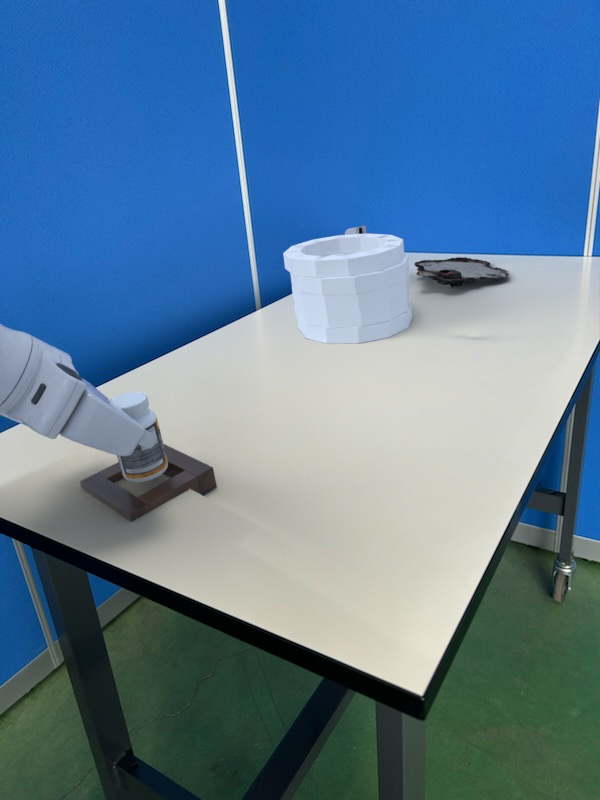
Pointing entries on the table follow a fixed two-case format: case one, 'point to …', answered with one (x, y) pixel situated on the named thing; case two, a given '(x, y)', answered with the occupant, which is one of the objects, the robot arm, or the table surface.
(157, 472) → the pill bottle
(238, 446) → the table surface
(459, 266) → the scrap metal
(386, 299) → the container
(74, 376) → the robot arm
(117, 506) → the frame
